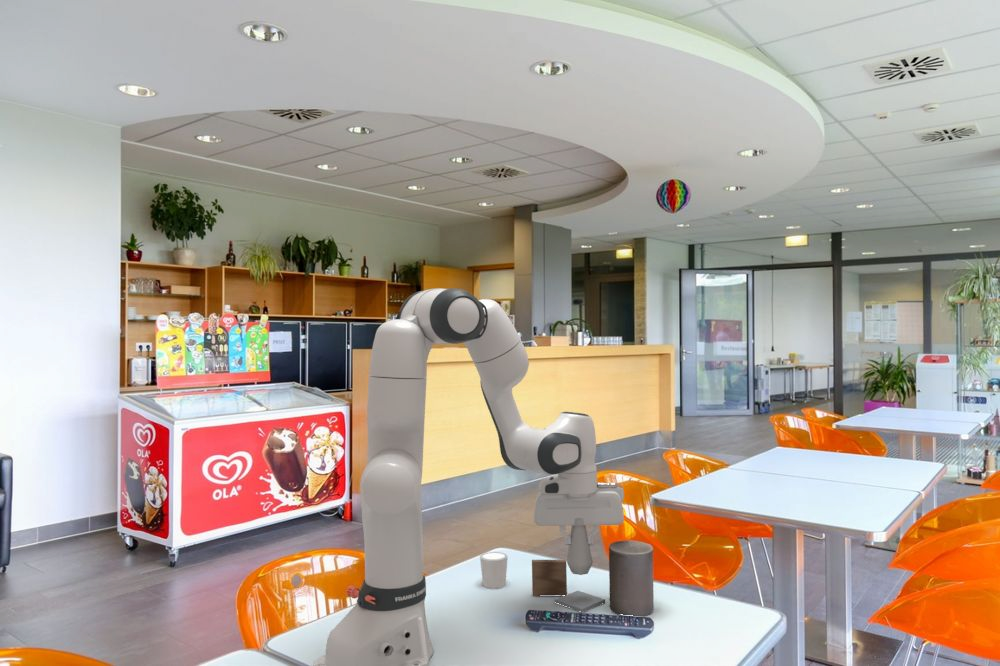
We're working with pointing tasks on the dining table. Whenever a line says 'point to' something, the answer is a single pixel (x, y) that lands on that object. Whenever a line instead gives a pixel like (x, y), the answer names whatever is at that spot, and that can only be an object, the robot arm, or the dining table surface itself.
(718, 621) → the dining table surface
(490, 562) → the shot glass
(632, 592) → the pillar candle
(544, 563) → the walnut box
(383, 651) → the robot arm
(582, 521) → the salt shaker
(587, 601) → the slate mat
